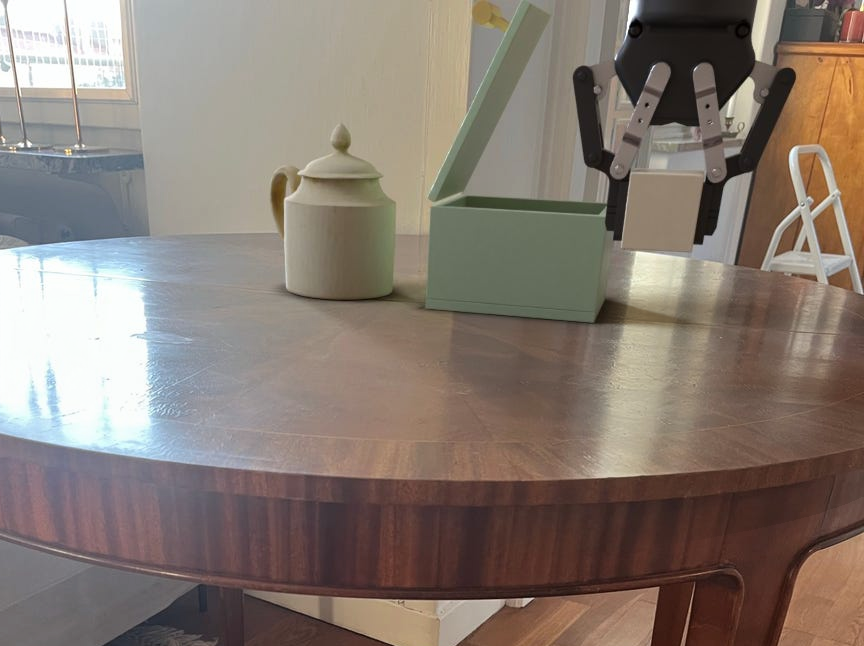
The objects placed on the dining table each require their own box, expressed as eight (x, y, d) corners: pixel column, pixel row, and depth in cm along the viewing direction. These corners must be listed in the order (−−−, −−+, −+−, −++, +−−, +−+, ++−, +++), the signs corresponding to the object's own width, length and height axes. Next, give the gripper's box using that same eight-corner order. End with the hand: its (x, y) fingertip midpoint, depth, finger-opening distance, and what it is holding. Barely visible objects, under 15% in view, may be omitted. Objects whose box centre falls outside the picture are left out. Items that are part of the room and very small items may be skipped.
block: (691, 243, 67) (703, 170, 64) (691, 252, 63) (704, 175, 60) (624, 240, 68) (634, 168, 65) (620, 248, 64) (630, 172, 61)
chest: (605, 298, 97) (618, 203, 93) (593, 323, 86) (608, 216, 82) (454, 286, 101) (460, 194, 96) (425, 308, 90) (430, 206, 86)
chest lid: (551, 15, 87) (504, -14, 87) (530, 3, 76) (477, -30, 76) (463, 191, 96) (421, 165, 96) (434, 202, 85) (386, 173, 85)
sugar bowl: (232, 291, 95) (223, 120, 88) (278, 274, 104) (274, 118, 97) (372, 304, 91) (375, 126, 84) (407, 286, 100) (413, 124, 93)
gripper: (824, -62, 58) (764, 240, 66) (587, -57, 61) (558, 229, 70) (840, -81, 52) (771, 255, 60) (575, -75, 55) (545, 243, 63)
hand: (657, 240), depth 65 cm, fingers closed on block, 4 cm apart
